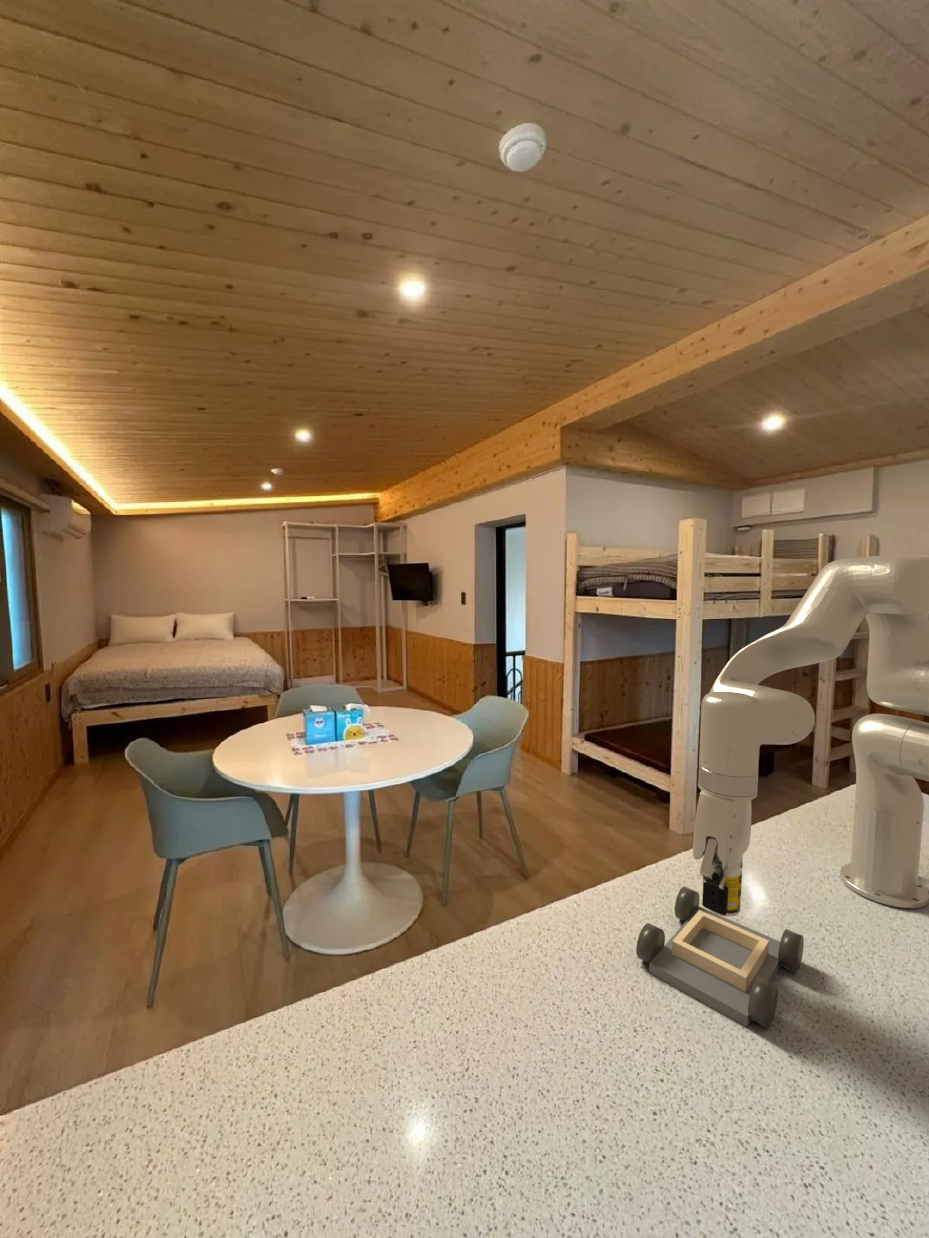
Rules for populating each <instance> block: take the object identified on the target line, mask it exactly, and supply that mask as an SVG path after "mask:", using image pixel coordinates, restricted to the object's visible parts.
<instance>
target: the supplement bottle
mask: <svg viewBox="0 0 929 1238" xmlns="http://www.w3.org/2000/svg"><path fill="white" fill-rule="evenodd" d="M716 861H717V862H720V863H722V861H720V859H717V858H716ZM739 864H740V858H739V859H738V860H737V861H736V863H735V864H734V865H733V866H732V867H730V868H729V869H728V872H727V879H726V886H725V887H728V906H727V914H726V915H725V916H723V915H721V914H719V913H716V912H714V911H712V910H709V911H711V912H713V913H715V914H718V915H720V916H722V917H730V918H731V917H735V916H737V915H739V914H740V912H741V899H742V898H741V896H742V884H741V881H742V880H743V871H742V869H741V868H740V866H739ZM714 871H715V873H718V875H719V876H720V874H721V869H718V868H716V867H714ZM742 882H743V881H742Z"/></svg>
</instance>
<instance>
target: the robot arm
mask: <svg viewBox="0 0 929 1238" xmlns="http://www.w3.org/2000/svg"><path fill="white" fill-rule="evenodd" d="M928 614H929V554H910V555H909V554H908V555H905V554H903V555H902V554H899V555H897V554H894V555H893V554H892V555H887V554H886V555H870V556H862V557H848V558H840V559H836V560H833V561H831V562H828V563H827V564H826V565H824V566H823V567H822V568H821V570H820V571H819V573H818V574H817V575H816V577H815V578H814V580H813V581H812V583H811V584H810V586H809V588H808V589H807V591H806V592H805V593H804V595H803V596H802V598H801V599H800V601H799V603H798V605H796V608H795V609H794V610H793V612H792V614H790V617H789V618H788V619H787V621H786V622H785V624H783V626H780V627H779V628H777V629H775V630H773V631H771V632H769V633H767V634H765V635H764V636H760V637H759V638H758V639H756V640H754V641H753V642H751V643H749V644H747V645H746V646H744V647H743V648H741V649H740V650H738V652H736V653H735V654H734V655H733V656H732V657H731V658H730V659H729V661H727V663H726V664H725V665H724V666H723V668H722V670H721V671H720V673H719V674H718V676H717V677H716V679H715V681H714V682H713V685H712V686H711V688H710V691H709V692H708V693H707V694H705V695H704V697H703V698H702V700H701V708H700V730H699V731H700V733H699V734H700V735H699V758H698V776H697V777H698V781H697V786H698V788H699V790H700V793H699V796H698V801H697V807H696V813H695V821H694V832H693V845H692V856H693V858H694V859H695V860H701V859H702V858H703V859H702V861H701V866H700V867H699V874H700V875H701V876H702V899H701V900H702V901H701V902H702V903H701V904H702V905H701V906H702V907H703V908H704V909H706V910H708V911H710V910H712V911H714V912H716V913H719V914H721V915H723V916H722V917H726V916H725V915H726V914H727V906H728V887H725V886H726V879H727V872H728V869H729V868H730V867H732V866H733V865H734V864H735V863H736V861H737V860H738V859H739V858H740V864H739V866H740V868H741V870H742V869H743V866H744V863H743V860H744V859H743V855H744V854H745V853H746V852H747V850H748V848H749V846H750V842H751V835H752V834H751V833H752V832H751V831H752V800H754V799H756V798H757V797H758V785H759V784H758V782H759V760H760V747H761V746H763V745H780V746H781V745H782V746H784V745H792V744H796V743H799V742H800V741H803V740H805V738H807V737H808V736H809V734H811V732H812V731H813V729H814V725H815V720H816V719H815V717H816V715H815V712H814V708H813V707H812V705H811V704H810V703H809V701H808V700H807V699H805V698H804V697H802V696H801V695H799V694H796V693H793V692H791V691H787V690H783V689H776V688H773V687H768V686H765V685H761V684H760V683H761V682H762V681H764V680H765V679H767V678H768V677H770V676H772V675H774V674H777V673H780V672H783V671H786V670H790V669H794V668H800V667H805V666H810V665H816V664H820V663H823V662H827V661H831V660H834V659H837V658H838V657H839V656H841V655H842V654H843V653H844V652H845V650H846V648H847V647H848V646H849V643H850V641H851V640H852V639H853V636H854V635H855V634H856V632H857V630H858V628H859V627H860V625H861V623H862V622H863V620H864V619H866V622H867V623H868V631H869V633H868V634H869V637H868V638H869V639H868V655H867V657H868V659H867V671H866V672H867V673H866V690H867V695H868V697H869V699H870V700H871V701H872V702H873V703H875V704H878V705H879V706H883V707H885V708H890V709H893V710H898V711H902V712H908V713H913V714H916V715H922V716H928V717H929V618H928V616H927V615H928ZM759 684H760V685H759ZM851 741H852V749H853V756H854V762H855V776H856V779H855V797H854V813H853V827H852V829H853V830H852V842H851V856H850V857H851V858H850V863H846V864H844V865H842V866H841V867H840V871H839V877H840V879H841V881H842V882H843V883H844V884H845V886H847V887H848V888H849V889H850V890H852V891H853V892H855V893H857V894H858V895H861V896H862V897H864V898H867V899H868V900H871V901H874V902H876V903H879V904H883V905H886V906H890V907H895V908H900V909H901V908H902V909H919V908H922V907H925V906H927V905H928V903H929V892H928V890H927V889H926V887H924V885H923V884H922V883H920V882H919V875H920V861H921V849H922V847H921V846H922V834H923V822H924V821H923V819H924V811H925V810H924V809H925V802H924V796H923V794H922V793H923V792H922V791H921V788H920V786H919V784H918V783H917V781H916V780H915V779H920V780H923V781H926V782H929V722H927V721H922V720H919V719H914V718H908V717H904V716H899V715H894V714H888V713H871V714H867V715H864V716H862V717H861V718H859V719H858V720H857V721H856V723H855V724H854V726H853V729H852V734H851ZM716 858H717V859H720V861H722V863H720V862H717V861H716ZM714 867H716V868H718V869H721V874H720V876H719V875H718V873H715V871H714ZM742 883H743V881H741V885H742ZM712 911H711V912H712ZM714 912H713V913H714ZM716 913H715V914H716ZM721 915H720V916H721Z"/></svg>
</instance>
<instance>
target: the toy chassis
mask: <svg viewBox="0 0 929 1238" xmlns="http://www.w3.org/2000/svg"><path fill="white" fill-rule="evenodd" d="M676 896H677V897H675V898H676V900H675V904H674V915H675V917H676V918H677V919H679V920H681V921H682V922H684V923H683V924H682V925H681V927H679V929H678V930H677V931H676V932H674V935H672V937H671V938H670V939H669V940H668V941H667V942H666V934H665V931H664V930H663V929H661V928H659V927H657V926H656V925H654V924H652V923H650V922H647V923H645V924H644V926H642V928H641V930H640V932H639V935H638V938H637V940H636V941H637V942H636V950H635V951H636V956H637V959H639V960H641V961H643V962H645V963H646V964H648V973H649V974H650V975H652V976H654V977H656V978H658V979H659V980H661V981H663V982H665V983H667V984H668V985H670V986H673V987H674V988H675V989H677V990H680V991H681V992H683V993H685V994H687V995H688V996H690V997H691V998H694V999H695V1000H698V1001H699V1002H701V1003H703V1004H704V1005H706V1006H708V1007H709V1008H712V1009H714V1010H715V1011H717V1012H719V1013H721V1014H723V1015H724V1016H727V1018H729V1019H731V1020H733V1021H735V1022H737V1023H738V1024H739V1025H742V1026H744V1027H746V1028H748V1027H749V1025H750V1023H751V1022H752V1021H753V1022H755V1023H757V1024H759V1025H760V1026H762V1027H764V1028H765V1029H770V1027H771V1026H772V1023H773V1020H774V1018H775V1015H776V1010H777V1005H778V998H779V997H778V995H779V991H778V986H777V985H776V984H774V983H773V981H774V980H775V977H776V976H777V974H778V972H779V970H780V969H781V967H782V968H785V969H786V970H789V971H792V972H793V973H795V974H797V973H798V972H799V969H800V967H801V964H802V959H803V954H804V948H805V947H804V946H805V945H804V943H805V941H804V940H805V939H804V936H803V935H802V934H799V933H797V932H795V931H792V930H790V929H787V928H785V930H783V932H782V936H781V938H780V940H778V939H774V938H773V937H770V936H769V935H765V934H764V933H761V932H759V931H757V930H754V929H752V928H749V927H747V926H745V925H743V924H742V923H741V924H740V923H738V922H736V921H733V920H731V919H729V918H726V916H721V915H718V914H716V913H714V912H712V911H710V910H709V909H707V908H705V907H703V906H702V907H701V906H700V894H699V892H698V891H696V890H694V889H691V888H689V887H686V886H682V887H681V888H680V890H678V893H677V895H676ZM665 942H666V944H665Z"/></svg>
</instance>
